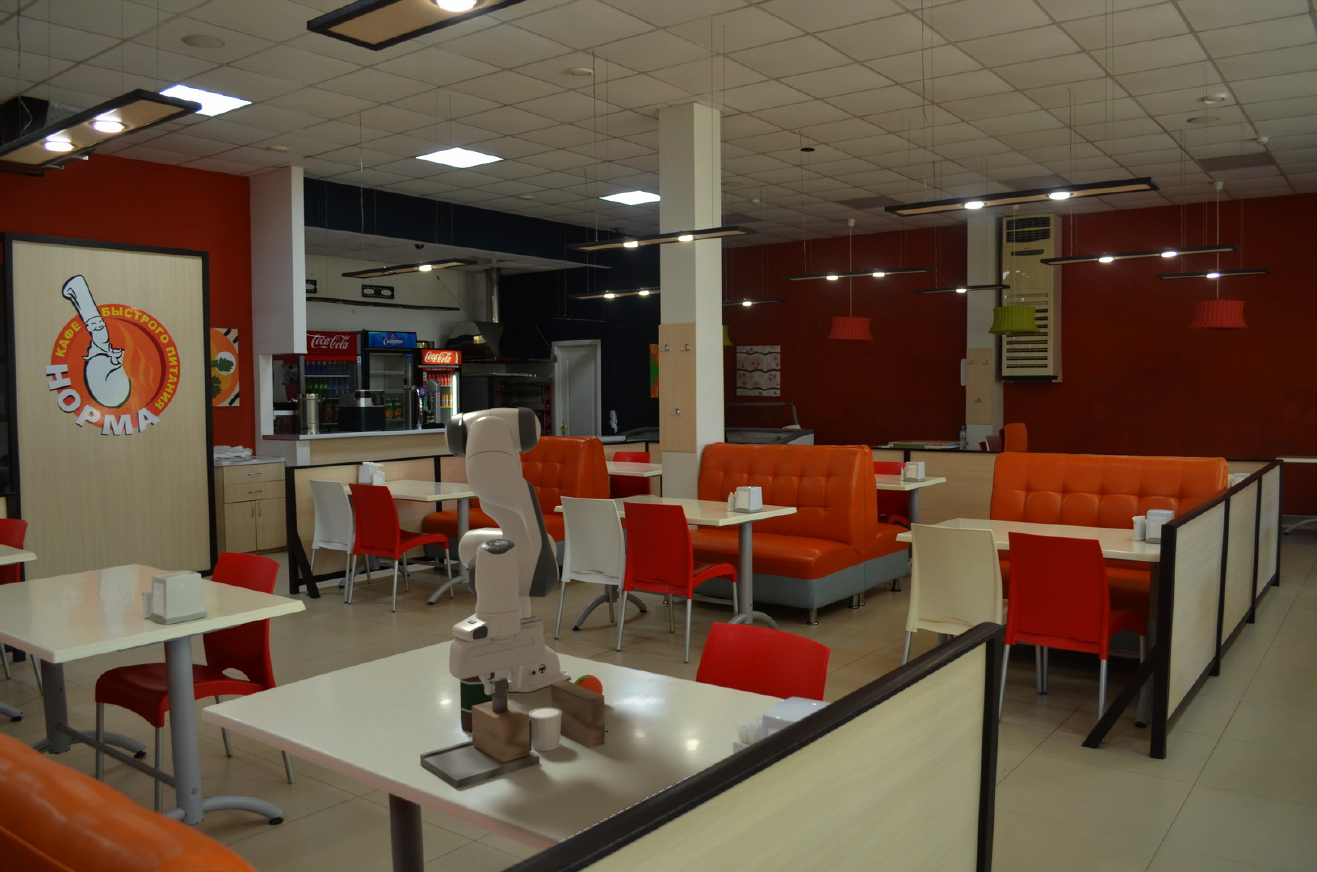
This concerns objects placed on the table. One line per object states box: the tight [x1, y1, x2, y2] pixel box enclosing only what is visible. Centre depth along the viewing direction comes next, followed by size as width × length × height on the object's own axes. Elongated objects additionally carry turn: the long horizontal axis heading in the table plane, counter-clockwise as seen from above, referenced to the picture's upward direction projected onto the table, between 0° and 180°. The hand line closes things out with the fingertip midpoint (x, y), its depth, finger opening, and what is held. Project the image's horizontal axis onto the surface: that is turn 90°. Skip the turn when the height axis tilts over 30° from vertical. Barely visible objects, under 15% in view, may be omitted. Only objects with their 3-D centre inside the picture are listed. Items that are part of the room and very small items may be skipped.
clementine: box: [573, 674, 604, 695], centre depth 220 cm, size 8×7×7 cm
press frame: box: [419, 679, 606, 789], centre depth 191 cm, size 34×15×10 cm, turn 130°
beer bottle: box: [459, 672, 495, 733], centre depth 206 cm, size 8×8×24 cm
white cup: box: [528, 706, 562, 752], centre depth 195 cm, size 7×7×7 cm
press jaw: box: [471, 677, 533, 762], centre depth 188 cm, size 7×12×14 cm, turn 40°
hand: (499, 691), depth 188 cm, fingers closed on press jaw, 3 cm apart
